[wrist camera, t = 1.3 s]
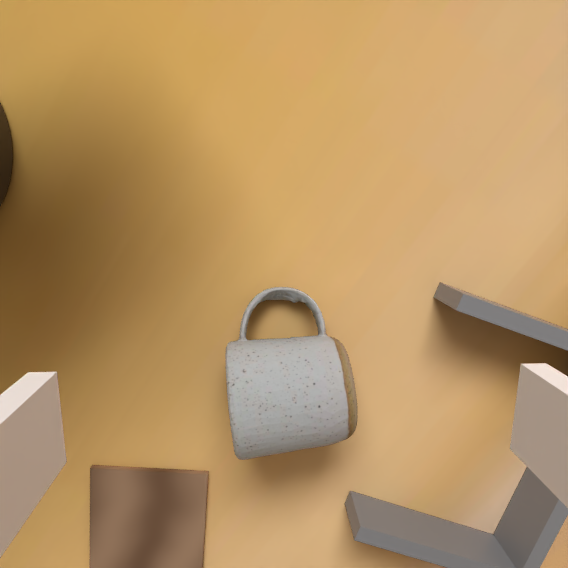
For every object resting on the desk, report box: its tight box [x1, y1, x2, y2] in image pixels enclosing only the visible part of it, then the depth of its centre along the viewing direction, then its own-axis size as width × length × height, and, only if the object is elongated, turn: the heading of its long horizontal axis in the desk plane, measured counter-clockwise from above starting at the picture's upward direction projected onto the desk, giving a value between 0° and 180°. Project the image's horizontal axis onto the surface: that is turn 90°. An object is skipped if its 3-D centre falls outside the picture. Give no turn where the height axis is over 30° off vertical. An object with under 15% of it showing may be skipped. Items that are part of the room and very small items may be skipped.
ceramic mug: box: [226, 287, 357, 460], centre depth 30 cm, size 11×8×8 cm
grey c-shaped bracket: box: [345, 283, 568, 568], centre depth 33 cm, size 14×19×4 cm
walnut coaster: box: [90, 465, 209, 568], centre depth 36 cm, size 9×9×1 cm
